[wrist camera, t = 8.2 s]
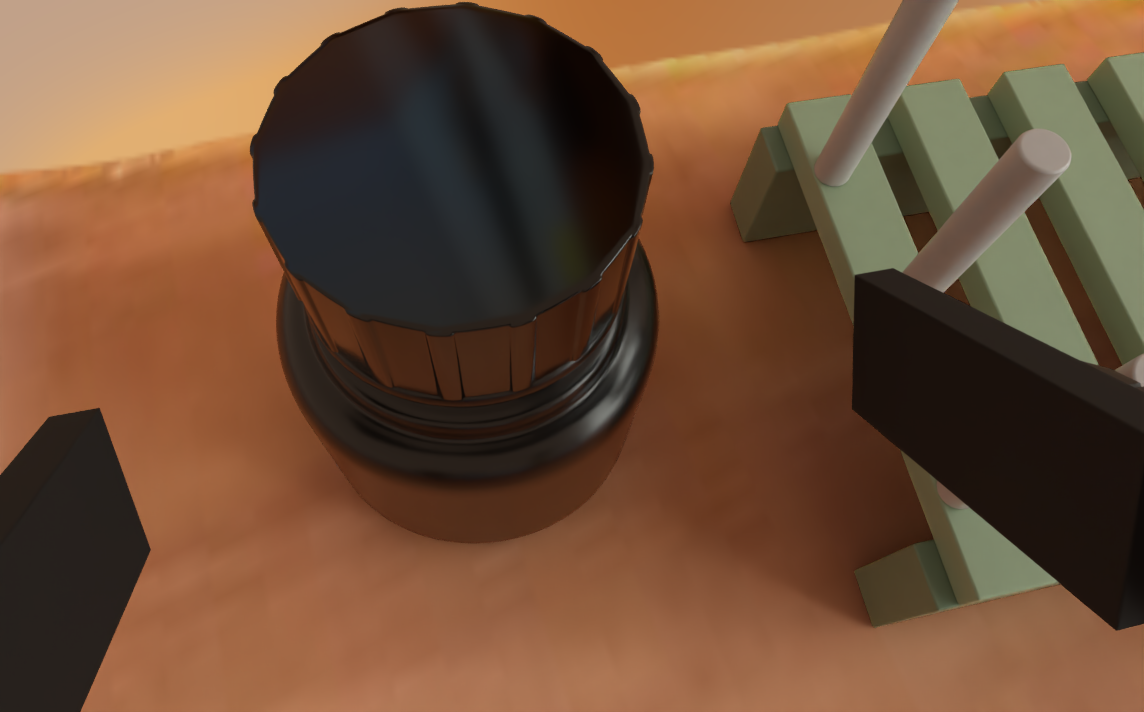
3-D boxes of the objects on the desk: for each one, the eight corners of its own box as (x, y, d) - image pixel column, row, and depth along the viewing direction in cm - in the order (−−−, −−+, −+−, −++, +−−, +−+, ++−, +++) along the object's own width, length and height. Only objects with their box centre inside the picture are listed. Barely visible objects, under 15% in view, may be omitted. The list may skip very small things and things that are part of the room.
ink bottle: (626, 261, 28) (699, -43, 17) (660, 535, 24) (779, 379, 13) (318, 275, 27) (181, -37, 16) (308, 560, 23) (124, 416, 12)
